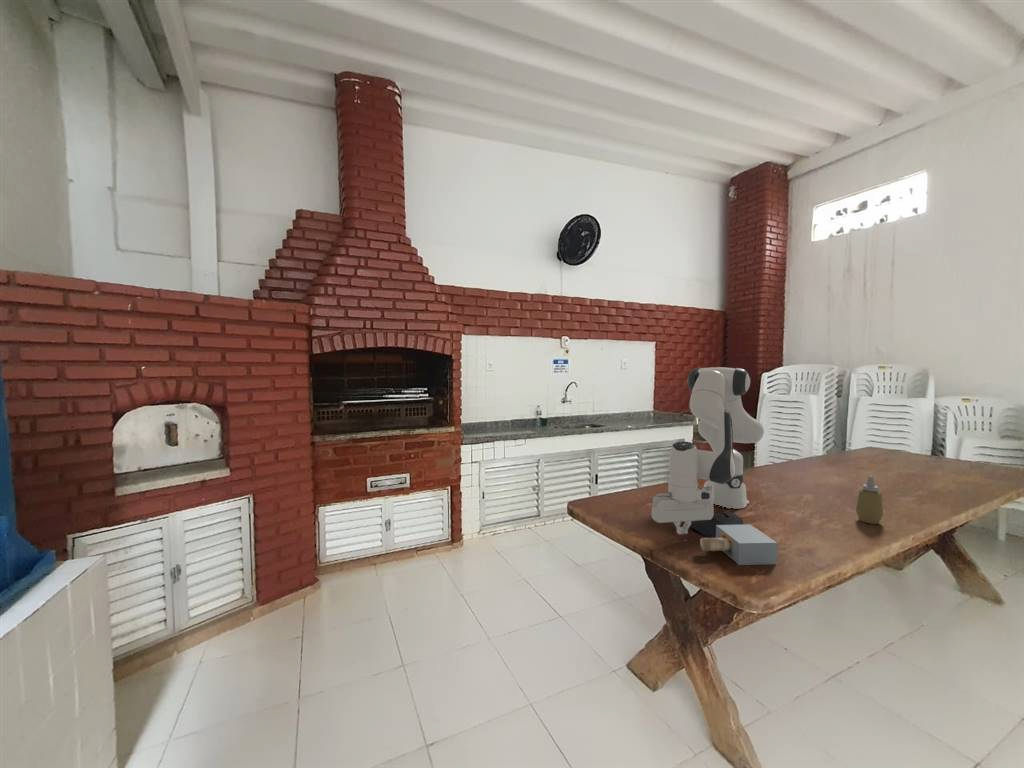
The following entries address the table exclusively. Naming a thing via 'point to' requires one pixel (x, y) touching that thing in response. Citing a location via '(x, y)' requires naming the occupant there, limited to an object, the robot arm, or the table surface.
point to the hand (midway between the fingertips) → (682, 533)
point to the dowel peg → (715, 544)
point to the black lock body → (716, 523)
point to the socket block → (748, 544)
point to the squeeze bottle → (869, 503)
